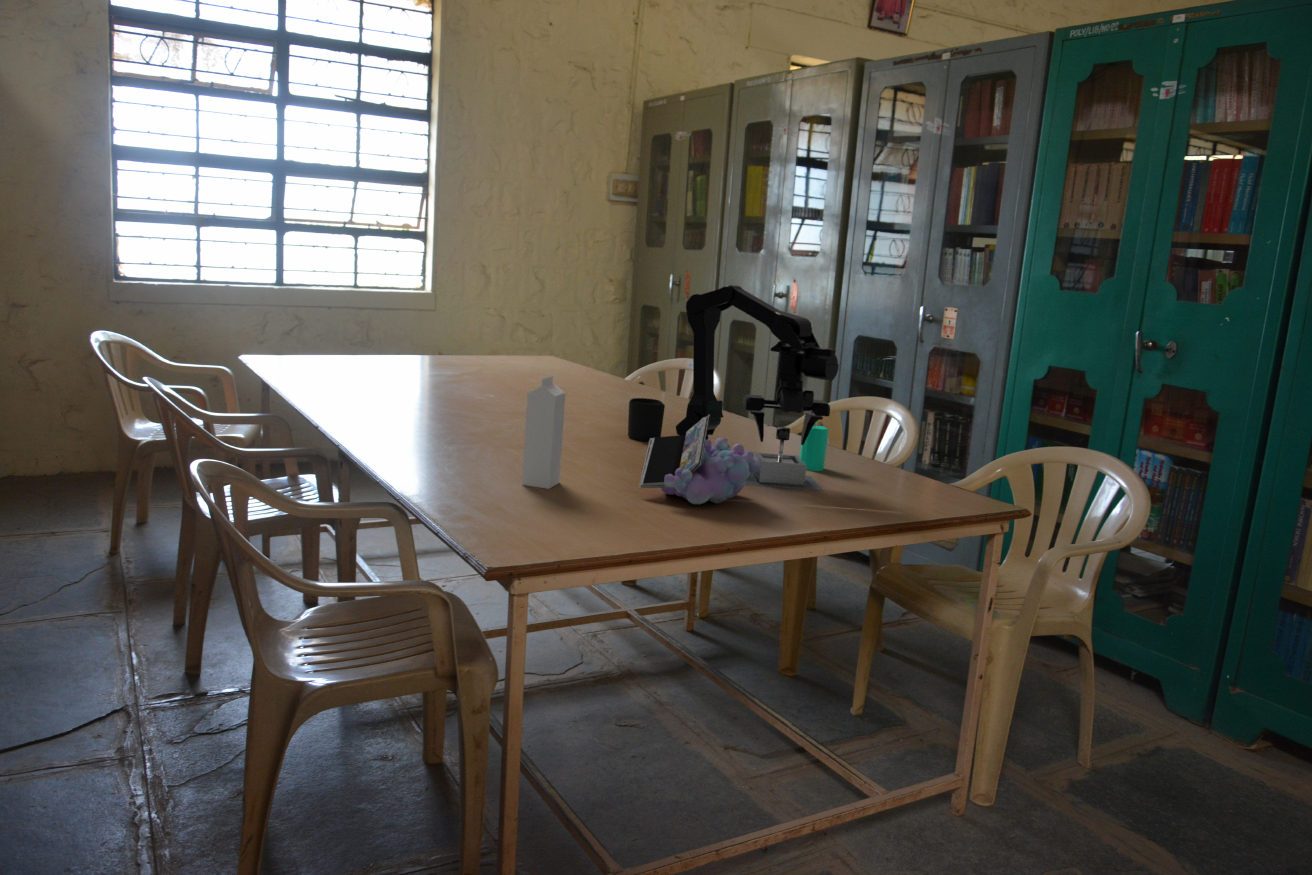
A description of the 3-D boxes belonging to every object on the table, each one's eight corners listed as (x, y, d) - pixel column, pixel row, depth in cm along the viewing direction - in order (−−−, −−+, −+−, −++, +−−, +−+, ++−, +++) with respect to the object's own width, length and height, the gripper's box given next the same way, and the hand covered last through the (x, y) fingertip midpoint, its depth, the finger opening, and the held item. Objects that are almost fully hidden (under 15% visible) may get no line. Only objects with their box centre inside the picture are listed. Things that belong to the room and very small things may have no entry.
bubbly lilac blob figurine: (783, 488, 187) (761, 404, 192) (702, 492, 174) (680, 402, 178) (718, 516, 202) (699, 438, 207) (638, 522, 189) (620, 438, 193)
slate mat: (742, 486, 206) (742, 484, 206) (734, 471, 220) (734, 470, 220) (823, 492, 207) (823, 490, 207) (810, 477, 221) (810, 475, 221)
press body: (746, 482, 208) (748, 460, 207) (740, 472, 218) (742, 451, 217) (803, 487, 209) (806, 465, 208) (795, 476, 218) (797, 455, 218)
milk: (521, 485, 190) (527, 377, 186) (532, 479, 196) (538, 373, 192) (549, 489, 189) (556, 380, 185) (560, 482, 195) (566, 377, 191)
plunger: (767, 466, 209) (771, 429, 207) (762, 459, 216) (766, 424, 214) (797, 468, 209) (801, 432, 208) (791, 462, 216) (795, 426, 215)
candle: (823, 473, 226) (829, 424, 224) (797, 470, 227) (803, 421, 225) (823, 468, 232) (829, 420, 230) (799, 465, 233) (805, 417, 231)
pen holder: (668, 439, 251) (671, 402, 249) (649, 443, 243) (652, 405, 242) (639, 433, 256) (642, 397, 254) (619, 437, 248) (622, 399, 246)
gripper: (753, 375, 200) (745, 447, 203) (839, 382, 201) (831, 454, 204) (746, 369, 211) (738, 437, 214) (828, 375, 212) (819, 443, 215)
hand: (781, 443), depth 212 cm, fingers open, 9 cm apart
